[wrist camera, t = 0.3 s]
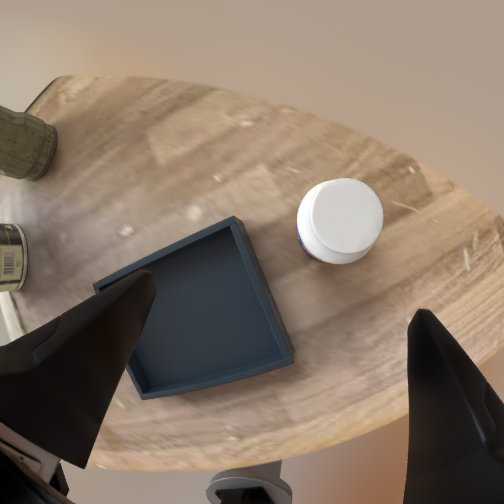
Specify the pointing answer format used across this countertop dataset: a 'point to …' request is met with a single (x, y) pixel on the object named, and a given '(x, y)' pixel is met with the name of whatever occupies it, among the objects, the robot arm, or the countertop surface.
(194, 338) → the tray
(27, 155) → the stone statue
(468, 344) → the countertop surface
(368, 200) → the pill bottle
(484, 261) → the countertop surface
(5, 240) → the coffee can
